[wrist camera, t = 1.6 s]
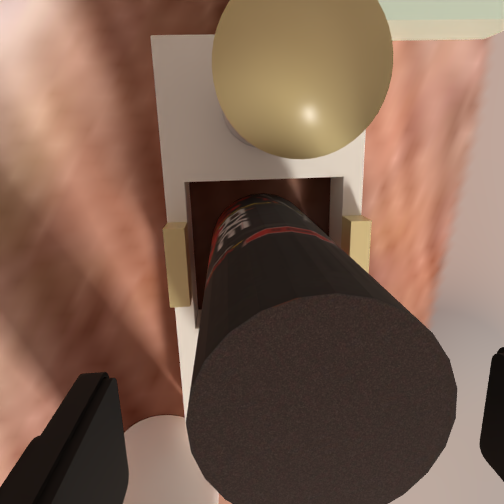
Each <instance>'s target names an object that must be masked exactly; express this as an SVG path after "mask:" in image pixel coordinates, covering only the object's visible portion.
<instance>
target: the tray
mask: <svg viewBox="0 0 504 504" xmlns="http://www.w3.org/2000/svg"><path fill="white" fill-rule="evenodd" d="M378 2H379V4H380V6H381V7H382V9H383V11H384V13H385V16H386V19H387V22H388V24H389V28H390V33H391V37H392V41H397V40H468V39H485V38H488V37H490V36H493V35H495V34H498V33H501V32H503V31H504V0H378Z"/></svg>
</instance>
